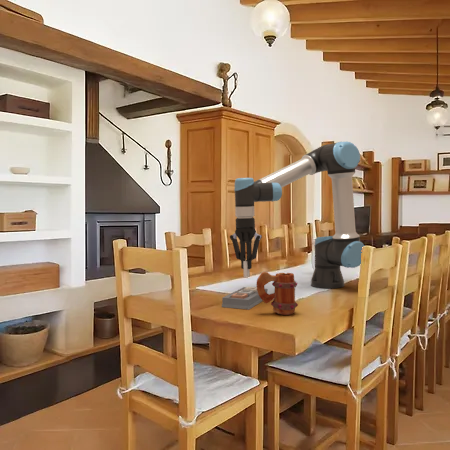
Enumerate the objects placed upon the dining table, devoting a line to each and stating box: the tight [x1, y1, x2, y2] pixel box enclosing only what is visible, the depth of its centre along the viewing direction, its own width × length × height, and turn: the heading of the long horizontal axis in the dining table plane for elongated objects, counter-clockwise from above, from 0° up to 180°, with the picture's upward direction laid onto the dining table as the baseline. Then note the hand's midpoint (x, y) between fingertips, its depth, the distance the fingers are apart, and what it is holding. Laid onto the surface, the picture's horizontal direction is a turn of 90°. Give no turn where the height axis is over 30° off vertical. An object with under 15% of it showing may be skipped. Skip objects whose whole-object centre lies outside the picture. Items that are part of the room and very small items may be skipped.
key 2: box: [238, 290, 254, 295], centre depth 181 cm, size 5×5×3 cm
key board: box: [221, 286, 268, 310], centre depth 181 cm, size 11×22×4 cm, turn 156°
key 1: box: [244, 286, 258, 292], centre depth 187 cm, size 5×5×3 cm
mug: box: [255, 271, 299, 316], centre depth 162 cm, size 15×8×15 cm, turn 92°
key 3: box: [231, 293, 248, 299], centre depth 175 cm, size 5×5×3 cm
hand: (246, 277), depth 180 cm, fingers closed
